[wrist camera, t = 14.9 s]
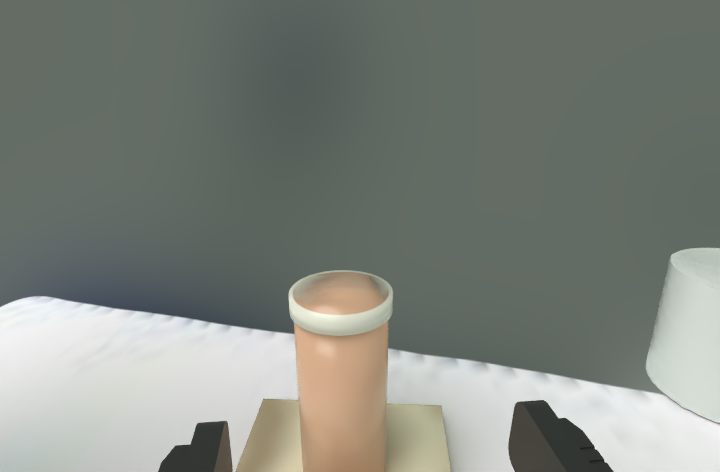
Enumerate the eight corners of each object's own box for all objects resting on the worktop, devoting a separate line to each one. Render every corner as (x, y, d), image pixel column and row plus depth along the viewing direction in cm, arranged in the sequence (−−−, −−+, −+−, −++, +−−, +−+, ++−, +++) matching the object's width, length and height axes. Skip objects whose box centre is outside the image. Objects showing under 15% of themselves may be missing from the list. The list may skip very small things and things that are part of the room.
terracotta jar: (291, 506, 26) (277, 315, 22) (307, 434, 31) (299, 269, 27) (388, 511, 26) (393, 318, 22) (389, 438, 31) (392, 271, 27)
